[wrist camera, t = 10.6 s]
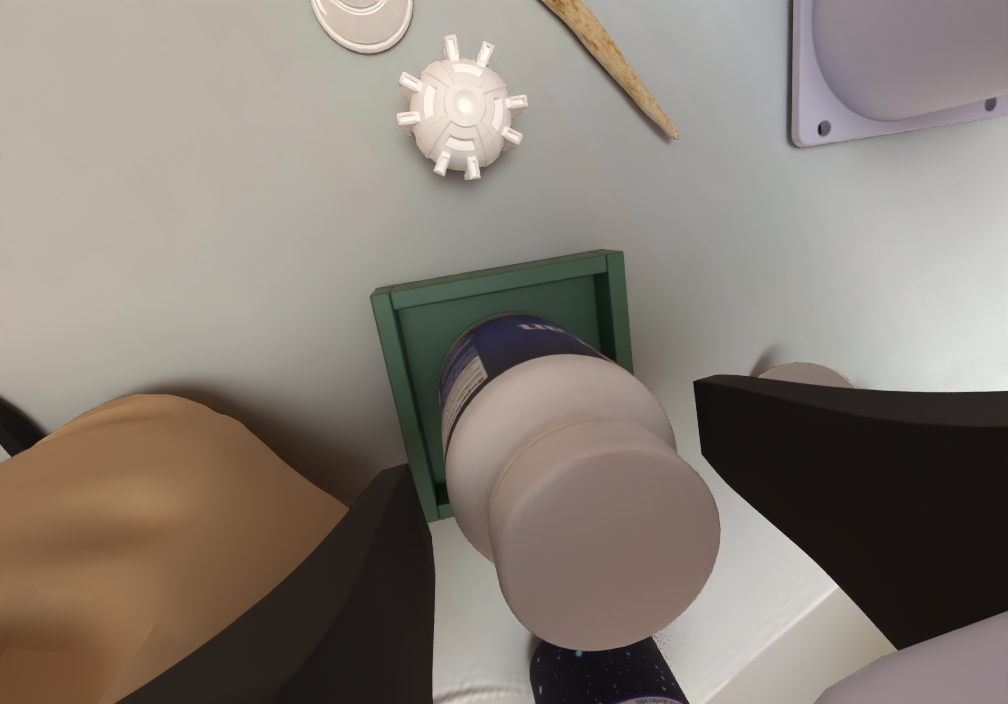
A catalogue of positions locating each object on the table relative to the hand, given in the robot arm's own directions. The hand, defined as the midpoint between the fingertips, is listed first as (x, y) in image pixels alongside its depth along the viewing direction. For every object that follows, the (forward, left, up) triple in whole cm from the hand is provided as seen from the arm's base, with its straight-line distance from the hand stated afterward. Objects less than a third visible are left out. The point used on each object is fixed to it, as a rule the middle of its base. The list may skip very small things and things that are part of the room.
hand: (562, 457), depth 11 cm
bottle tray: (0, 0, -7) cm, 7 cm away
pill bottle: (0, 0, -7) cm, 7 cm away
